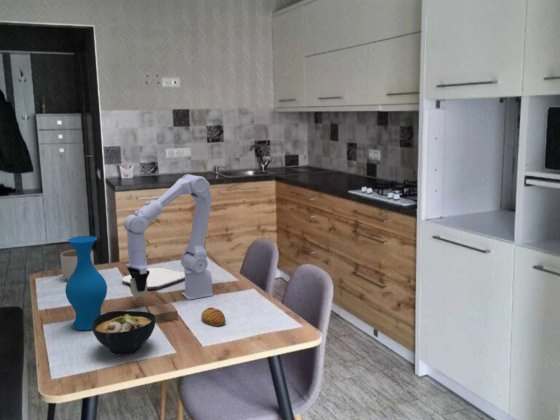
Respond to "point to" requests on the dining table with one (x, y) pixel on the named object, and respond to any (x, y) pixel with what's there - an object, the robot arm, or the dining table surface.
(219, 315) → the pastry
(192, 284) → the robot arm
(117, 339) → the bowl
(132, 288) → the green block
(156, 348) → the dining table surface
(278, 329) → the dining table surface
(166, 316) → the base block
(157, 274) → the plate
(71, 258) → the planter
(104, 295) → the vase
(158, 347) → the dining table surface
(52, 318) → the dining table surface
